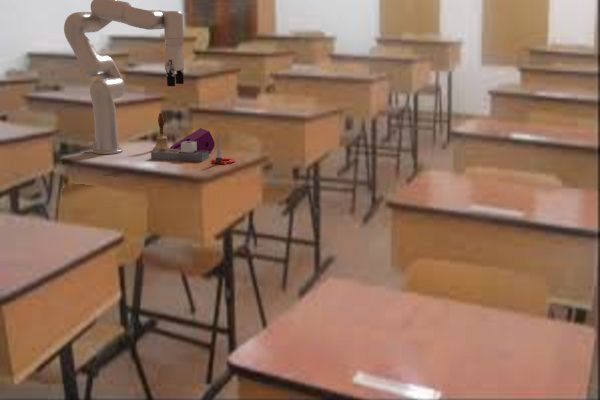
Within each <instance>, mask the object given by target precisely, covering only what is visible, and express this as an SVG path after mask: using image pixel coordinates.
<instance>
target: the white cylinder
mask: <svg viewBox="0 0 600 400" xmlns="http://www.w3.org/2000/svg"><path fill="white" fill-rule="evenodd" d="M181 153H189V154H195V153H197V142H192V141H185V142H182V143H181Z"/></svg>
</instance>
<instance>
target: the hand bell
mask: <svg viewBox="0 0 600 400" xmlns="http://www.w3.org/2000/svg"><path fill="white" fill-rule="evenodd" d="M157 123H158V126H159V136H158V137H156V143H155V146H154V147H152V150H153V151H155V150H157V149H159V148H161V149H170V147H171V146H170V143H169V141H168V137H167V136H165V134H164V132H165V131H164V127H165V125H164V124H165V118H164V115H163V113H162V112H161V113H158V118H157Z"/></svg>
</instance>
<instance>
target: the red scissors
mask: <svg viewBox="0 0 600 400" xmlns="http://www.w3.org/2000/svg"><path fill="white" fill-rule="evenodd" d="M221 142H222V141H221V132H220V131H217V151H216V157H215V159H211V161H210V162H211V163H212V164H216V165H223V166H225V165H227V164H233V163H232V162H234V163H235V162H236V159H234V158H228V157H227V158H226V157H225V158H224V157H223V158H222V157H221V156H222V154H221V153H222V151H221ZM222 160H231V161H222Z"/></svg>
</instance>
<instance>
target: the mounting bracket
mask: <svg viewBox="0 0 600 400" xmlns="http://www.w3.org/2000/svg"><path fill="white" fill-rule="evenodd" d="M185 141H192V142H197V150H208V151H209V152H210V153H211V152H213V150H214V149H215V144H216V143H215V140H214V138H213V135H212V133H211V131H209V130H208V129H204V128H199V129H196V130H195V131H193V132H192V133H190V134H189V135H187V136H185V137H183V138H182V139H180V140H179V141H177V142H175V143H174V144H172V145H171V146H170V149H181V143H182V142H185Z"/></svg>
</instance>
